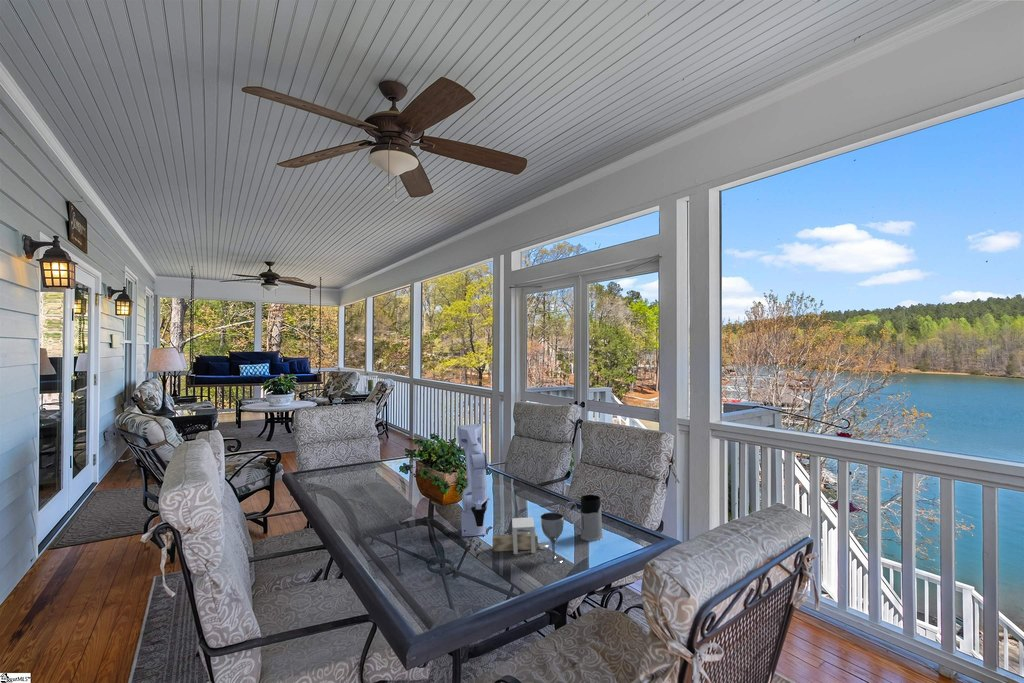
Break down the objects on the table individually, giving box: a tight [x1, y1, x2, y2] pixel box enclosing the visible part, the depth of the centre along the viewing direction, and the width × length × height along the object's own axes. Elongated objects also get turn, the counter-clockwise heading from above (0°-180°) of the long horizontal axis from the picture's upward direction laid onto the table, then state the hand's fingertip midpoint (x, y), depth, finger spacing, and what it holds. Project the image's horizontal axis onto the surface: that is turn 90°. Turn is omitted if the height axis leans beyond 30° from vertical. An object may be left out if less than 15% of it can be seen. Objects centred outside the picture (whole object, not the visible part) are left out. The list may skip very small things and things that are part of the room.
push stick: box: [492, 532, 539, 552], centre depth 173 cm, size 16×2×5 cm, turn 92°
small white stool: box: [511, 517, 537, 555], centre depth 173 cm, size 8×10×10 cm
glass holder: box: [565, 494, 604, 542], centre depth 181 cm, size 9×14×15 cm, turn 90°
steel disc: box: [537, 542, 551, 551], centre depth 173 cm, size 4×4×1 cm
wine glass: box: [540, 511, 565, 565], centre depth 163 cm, size 8×8×15 cm
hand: (480, 522), depth 175 cm, fingers open, 7 cm apart
